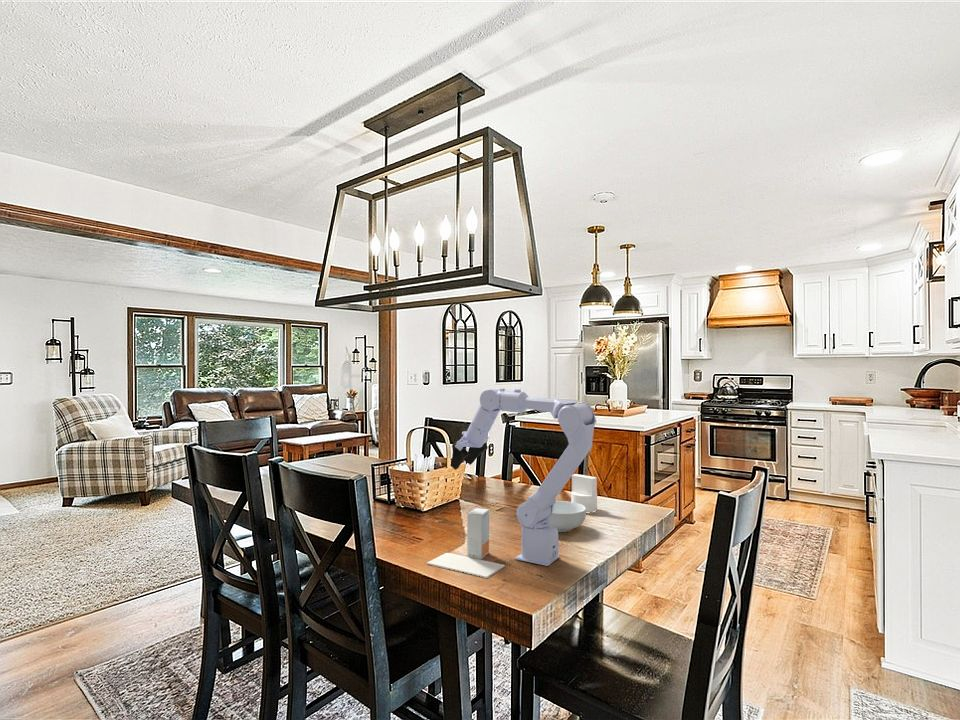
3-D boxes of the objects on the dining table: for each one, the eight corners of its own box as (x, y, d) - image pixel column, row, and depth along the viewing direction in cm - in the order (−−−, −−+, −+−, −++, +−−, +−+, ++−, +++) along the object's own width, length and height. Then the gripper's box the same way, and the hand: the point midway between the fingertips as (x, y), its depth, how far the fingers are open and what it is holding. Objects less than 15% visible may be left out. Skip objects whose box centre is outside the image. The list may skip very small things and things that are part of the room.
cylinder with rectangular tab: (602, 510, 193) (601, 476, 194) (587, 515, 187) (587, 480, 187) (580, 505, 200) (580, 472, 200) (566, 510, 193) (566, 476, 193)
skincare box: (481, 560, 144) (481, 514, 144) (466, 558, 145) (466, 513, 145) (489, 552, 149) (489, 509, 149) (475, 550, 151) (475, 507, 151)
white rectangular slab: (504, 566, 139) (504, 565, 139) (486, 578, 131) (486, 576, 131) (446, 553, 148) (446, 552, 148) (426, 564, 141) (426, 562, 141)
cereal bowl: (597, 532, 168) (597, 509, 168) (553, 540, 160) (553, 516, 160) (563, 518, 183) (563, 497, 183) (522, 525, 175) (522, 503, 175)
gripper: (483, 416, 163) (464, 453, 167) (456, 421, 151) (436, 461, 155) (500, 429, 160) (481, 466, 164) (474, 436, 148) (454, 476, 152)
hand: (460, 465), depth 159 cm, fingers open, 7 cm apart
